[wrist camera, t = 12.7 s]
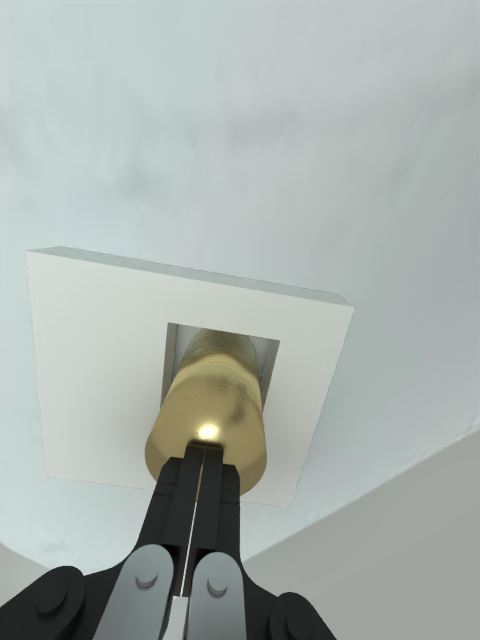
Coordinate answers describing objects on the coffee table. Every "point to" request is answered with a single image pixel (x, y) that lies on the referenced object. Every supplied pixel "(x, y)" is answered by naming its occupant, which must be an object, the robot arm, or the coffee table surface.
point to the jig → (167, 360)
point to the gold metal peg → (213, 407)
